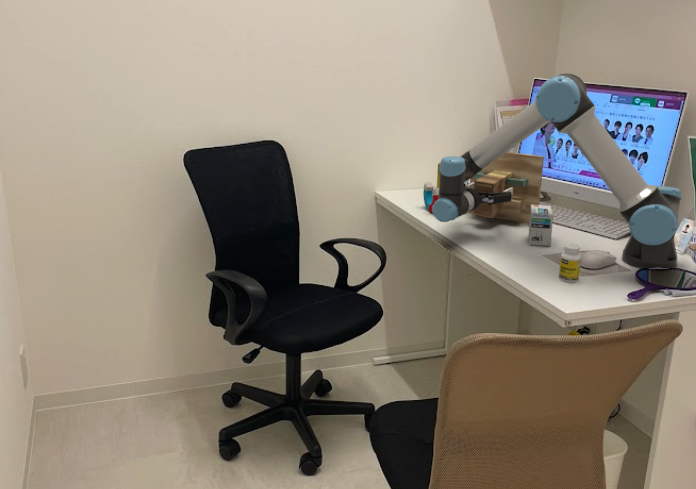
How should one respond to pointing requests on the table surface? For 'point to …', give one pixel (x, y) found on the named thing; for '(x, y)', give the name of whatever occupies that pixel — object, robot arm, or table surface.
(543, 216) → the light bulb box
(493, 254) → the table surface
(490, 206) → the cabinet
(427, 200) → the magnet
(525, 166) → the wall board
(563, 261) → the supplement bottle
